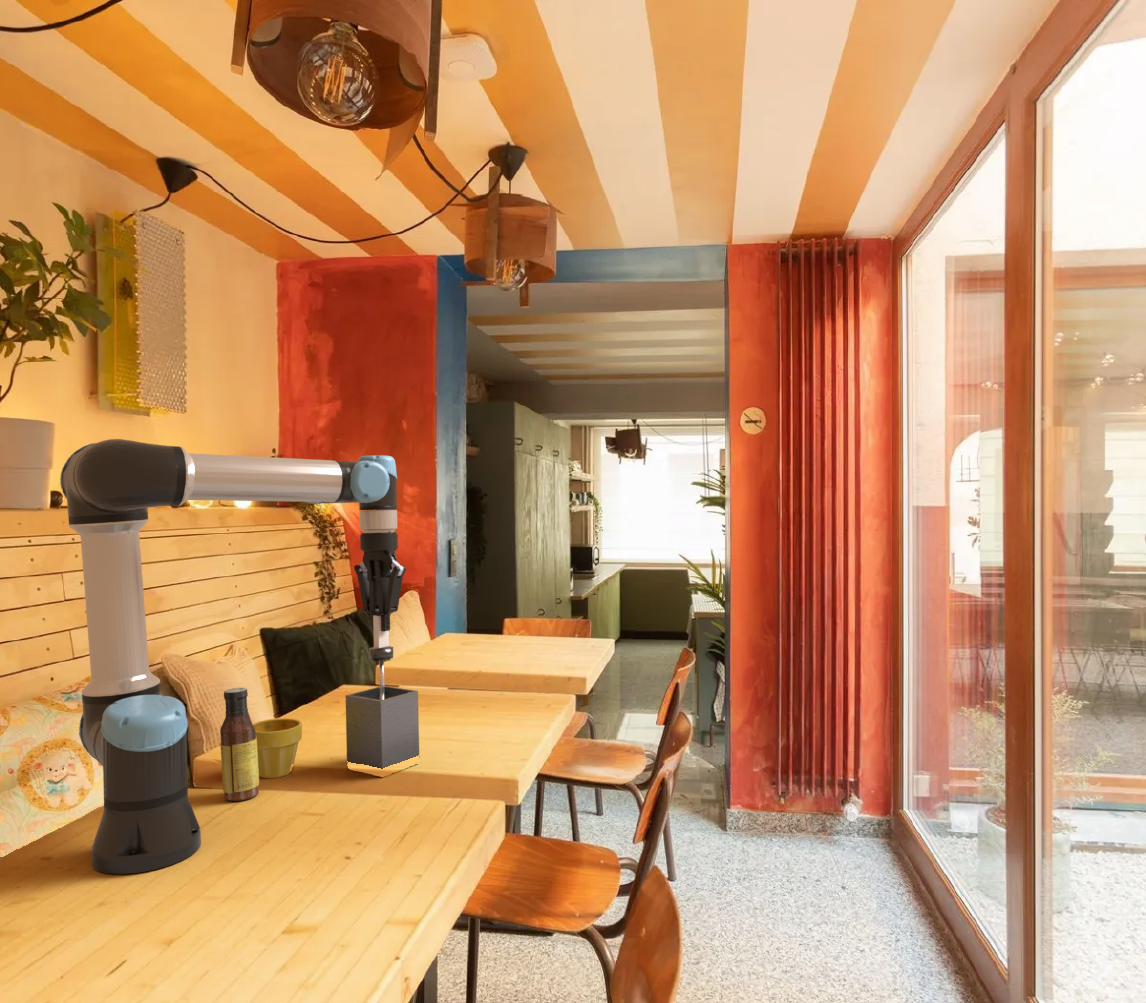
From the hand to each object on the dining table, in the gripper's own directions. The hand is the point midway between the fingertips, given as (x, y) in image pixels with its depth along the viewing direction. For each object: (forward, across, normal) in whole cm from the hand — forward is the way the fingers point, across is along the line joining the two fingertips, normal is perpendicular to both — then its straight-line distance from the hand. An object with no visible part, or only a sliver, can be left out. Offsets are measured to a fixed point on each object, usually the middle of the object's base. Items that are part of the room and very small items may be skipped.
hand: (381, 646), depth 170 cm
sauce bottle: (+25, +10, +26) cm, 37 cm away
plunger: (+14, 0, 0) cm, 14 cm away
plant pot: (+25, +16, +14) cm, 33 cm away
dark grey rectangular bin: (+25, 0, -2) cm, 25 cm away
